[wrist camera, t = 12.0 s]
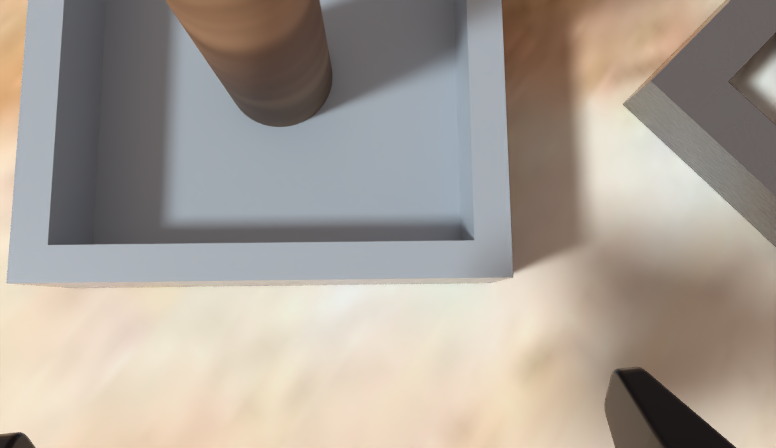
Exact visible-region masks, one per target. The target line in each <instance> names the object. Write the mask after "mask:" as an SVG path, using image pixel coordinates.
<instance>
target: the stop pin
mask: <svg viewBox="0 0 776 448" xmlns="http://www.w3.org/2000/svg"><path fill="white" fill-rule="evenodd" d="M165 1H166V3H167V4H168V6H169V7H170V8H171V10H172V11H173V13H174V14H175V16H176V17H177V19H178V20H179V22H180V23H181V25H182V26H183V27H184V29H185V30H186V32H187V33H188V35H189V36H190V38H191V39H192V41H193V42H194V44H195V45H196V47H197V48H198V49H199V51H200V52H201V54H202V55H203V57H204V58H205V60H206V61H207V63H208V64H209V66H210V67H211V68H212V70H213V71H214V73H215V74H216V76H217V77H218V79H219V80H220V82H221V83H222V85H223V86H224V87H225V89H226V90H227V92H228V93H229V95H230V96H231V98H232V99H233V101H234V102H235V104H236V105H237V106H238V108H239V109H240V110H241V111H242V112H243V113H244V114H245V115H246V116H248V117H249V118H250V119H252V120H254V121H256V122H258V123H260V124H263V125H267V126H272V127H287V126H292V125H296V124H299V123H301V122H304V121H305V120H307V119H309V118H310V117H312V116H313V115H314V114H315V113H317V112H318V111H319V110H320V108H321V107H322V106H323V105H324V103H325V101H326V100H327V98H328V96H329V93H330V90H331V86H332V67H331V61H330V55H329V50H328V44H327V39H326V33H325V27H324V22H323V16H322V11H321V5H320V0H165Z"/></svg>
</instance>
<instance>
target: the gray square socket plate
mask: <svg viewBox="0 0 776 448" xmlns="http://www.w3.org/2000/svg"><path fill="white" fill-rule="evenodd" d="M775 33H776V0H726V1H725V2H724V3H723V4H722V5H721V6H720V7H719V8H718V9H717V10H716V11H715V12H714V13H713V14H712V15H711V16H710V17H709V18H708V19H707V20H706V21H705V22H704V23H703V24H702V25H701V26H700V27H699V28H698V29H697V30H696V31H695V32H694V33H693V34H692V35H691V36H690V37H689V38H688V39H687V40H686V41H685V42H684V43H683V44H682V45H681V46H680V47H679V48H678V49H677V50H676V51H675V52H674V53H673V54H672V55H671V56H670V57H669V58H668V59H667V60H666V61H665V62H664V63H663V64H662V65H661V66H660V67H659V68H658V69H657V70H656V71H655V72H654V73H653V74H652V75H651V76H650V77H649V78H648V79H647V80H646V81H645V82H644V83H643V84H642V85H641V86H640V87H639V88H638V89H637V90H636V92H635V93H634V94H633V95H632V96H631V97H630V98H629V99H628V100H627V101H626V102H625V103H624V104H623V105H624V106H625V107H626V108H627V109H629V110H630V111H631V112H632V113H633V114H634V115H635V116H636V117H637V118H638V119H639V120H640V121H641V122H642V123H644V124H645V125H646V126H647V127H648V128H649V129H650V130H651V131H652V132H653V133H654V134H655V135H656V136H658V137H659V138H660V139H661V140H662V141H663V142H664V143H665V144H666V145H667V146H668V147H669V148H670V149H671V150H673V151H674V152H675V153H676V154H677V155H678V156H679V157H680V158H681V159H682V160H683V161H684V162H685V163H687V164H688V165H689V166H690V167H691V168H692V169H693V170H694V171H695V172H696V173H697V174H698V175H699V176H700V177H702V178H703V179H704V180H705V181H706V182H707V183H708V184H709V185H710V186H711V187H712V188H713V189H714V190H716V191H717V192H718V193H719V194H720V195H721V196H722V197H723V198H724V199H725V200H726V201H727V202H728V203H729V204H731V205H732V206H733V207H734V208H735V209H736V210H737V211H738V212H739V213H740V214H741V215H742V216H743V217H745V218H746V219H747V220H748V221H749V222H750V223H751V224H752V225H753V226H754V227H755V228H756V229H757V230H758V231H760V232H761V233H762V234H763V235H764V236H765V237H766V238H767V239H768V240H769V241H770V242H771V243H772V244H773V245H775V246H776V125H775V124H774V123H773V122H772V121H771V120H770V119H768V118H767V117H766V116H765V115H764V114H763V113H762V112H761V111H760V110H759V109H757V108H756V107H755V106H754V105H753V104H752V103H751V102H750V101H749V100H748V99H746V98H745V97H744V96H743V95H742V94H741V93H740V92H739V91H738V90H737V89H735V88H734V87H733V86H732V85H731V84H730V83H729V82H728V81H729V80H730V79H731V78H732V77H733V76H734V75H735V74H736V73H737V72H738V71H739V70H740V69H741V68H742V67H743V66H744V65H745V64H746V63H747V62H748V61H749V60H750V59H751V58H752V57H753V55H754V54H755V53H756V52H757V51H758V50H759V49H760V48H761V47H762V46H763V45H764V44H765V43H766V42H767V41H768V40H769V39H770V38H771V37H772V36H773V35H774V34H775Z"/></svg>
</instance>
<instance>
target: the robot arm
mask: <svg viewBox="0 0 776 448" xmlns="http://www.w3.org/2000/svg"><path fill="white" fill-rule="evenodd" d="M605 413H606V417H607V421H608V424H609V428H610V431H611V434H612V438H613V441H614V445H615V448H736V447H735V446H734V445H732V444H731V443H730V442H729V441H728V440H727V439H725V438H724V437H723V436H722V435H721V434H719V433H718V432H717V431H716V430H715V429H714V428H712V427H711V426H710V425H709V424H708V423H707V422H705V421H704V420H703V419H702V418H701V417H700V416H698V415H697V414H696V413H695V412H694V411H692V410H691V409H690V408H689V407H688V406H687V405H685V404H684V403H683V402H682V401H681V400H680V399H678V398H677V397H676V396H675V395H674V394H673V393H671V392H670V391H669V390H668V389H667V388H665V387H664V386H663V385H662V384H661V383H660V382H658V381H657V380H656V379H655V378H654V377H653V376H651V375H650V374H649V373H648V372H647V371H645V370H644V369H642V368H639V367H630V368H621V369H616V370H615V371H614V372H613V373H612V375H611V379H610V383H609V387H608V391H607V395H606V399H605ZM0 448H35V446H34V445H33V444H32V442H31V441H30V439H29V438H28V437H27V436H26V435H25V434H23V433H21V432H17V433H8V434H0Z"/></svg>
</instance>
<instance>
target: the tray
mask: <svg viewBox="0 0 776 448" xmlns="http://www.w3.org/2000/svg"><path fill="white" fill-rule="evenodd" d="M320 5H321V11H322V16H323V22H324V27H325V33H326V39H327V44H328V50H329V55H330V61H331V67H332V86H331V90H330V93H329V96H328V98H327V100H326V101H325V103H324V105H323V106H322V107H321V108H320V110H319V111H318V112H317V113H315V114H314V115H313V116H312V117H310V118H309V119H307V120H305V121H304V122H301V123H299V124H296V125H292V126H287V127H272V126H267V125H263V124H260V123H258V122H256V121H254V120H252V119H250V118H249V117H248V116H246V115H245V114H244V113H243V112H242V111H241V110H240V109H239V108H238V106H237V105H236V104H235V102H234V101H233V99H232V98H231V96H230V95H229V93H228V92H227V90H226V89H225V87H224V86H223V85H222V83H221V82H220V80H219V79H218V77H217V76H216V74H215V73H214V71H213V70H212V68H211V67H210V66H209V64H208V63H207V61H206V60H205V58H204V57H203V55H202V54H201V52H200V51H199V49H198V48H197V47H196V45H195V44H194V42H193V41H192V39H191V38H190V36H189V35H188V33H187V32H186V30H185V29H184V27H183V26H182V25H181V23H180V22H179V20H178V19H177V17H176V16H175V14H174V13H173V11H172V10H171V8H170V7H169V6H168V4H167V3H166V1H165V0H28V7H27V21H26V34H25V47H24V60H23V73H22V87H21V100H20V113H19V126H18V139H17V152H16V166H15V179H14V192H13V205H12V218H11V232H10V245H9V258H8V271H7V283H8V284H22V285H36V286H51V287H65V288H105V287H187V286H270V285H352V284H434V283H491V282H496V281H500V280H504V279H508V278H513V260H512V236H511V212H510V188H509V164H508V141H507V117H506V93H505V69H504V45H503V21H502V0H320Z"/></svg>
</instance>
